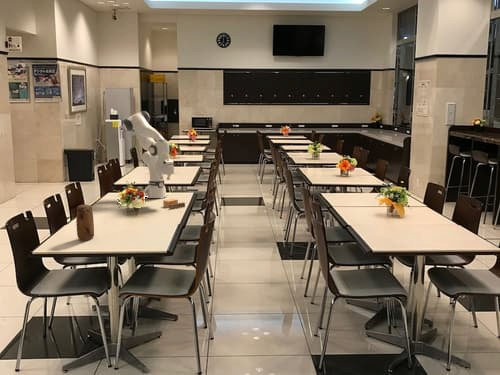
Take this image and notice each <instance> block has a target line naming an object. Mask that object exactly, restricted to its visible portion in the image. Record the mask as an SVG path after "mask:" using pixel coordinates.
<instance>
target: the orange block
mask: <svg viewBox="0 0 500 375" xmlns="http://www.w3.org/2000/svg"><path fill="white" fill-rule="evenodd" d="M162 202H163V208H167V207H168V208H167V209H169V205H172V204H177V203H179V200H178V199H177V198H168V199H165V200H163V201H162Z"/></svg>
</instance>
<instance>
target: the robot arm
mask: <svg viewBox="0 0 500 375" xmlns="http://www.w3.org/2000/svg"><path fill="white" fill-rule="evenodd" d="M150 118H151V117H150V114H149V113H148V112H147V111H146V110H141V111H139V112H136V113H134V114H133V115H131V116H129V117H127V118H126V119H124V120H123V121H122V124H123V128H124V129H125V130H126V131H128V132H132V131H134V134H135V137H136V139H137V140H138V142H139V144H140V146H141V147H142V149H144V150H145V152H143V153H142V155H141V160H142V162H143V163H144V164H145V165H146V166H147V169H148V171H149V180H148V185H147V186H146V187H145V188H144V190H143V193H144V192H145V195H146V196H148V197H147V198H161V199H165V198H164V197H166V198H167V196H166V194H167V189H166V186H165V178H164V177H165V176H164V175H167V176H166V180H167V181H170V180H171V175H174V173H175V165H174V164H175V163H174V160H172V159H171V158H170V157H171V156H170V155H171V154H172V152H173V146H172V144H170V142H169V141H168V140H167V139H165V138H164V136H163V135H162V134H161V133H160V132H159V131H158V129H156V128H154V127H152V125H150V120H151V119H150ZM147 198H146V199H147Z"/></svg>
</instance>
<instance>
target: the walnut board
mask: <svg viewBox="0 0 500 375" xmlns="http://www.w3.org/2000/svg"><path fill="white" fill-rule="evenodd" d="M180 207H181V208H185V207H186V202H178V203H177V204H172V205H169V208H168V209H170V210H175V208H176V209H180Z"/></svg>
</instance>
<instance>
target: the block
mask: <svg viewBox="0 0 500 375" xmlns="http://www.w3.org/2000/svg"><path fill="white" fill-rule="evenodd" d="M76 208H77V209H76V217H75V218H76V234H77V238H78V240H79V241H80V242H86V241H87V242H88V241H90V240H92V239H93V238H94V236H95V224H94V212H93V206H92V205H91V204H89V205H88V204H80V205H78V206H77V207H76Z"/></svg>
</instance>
